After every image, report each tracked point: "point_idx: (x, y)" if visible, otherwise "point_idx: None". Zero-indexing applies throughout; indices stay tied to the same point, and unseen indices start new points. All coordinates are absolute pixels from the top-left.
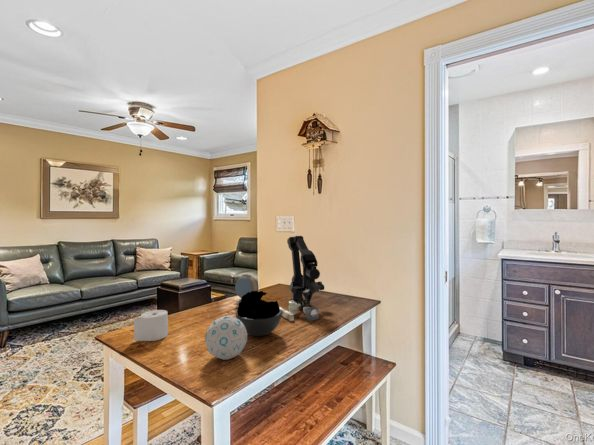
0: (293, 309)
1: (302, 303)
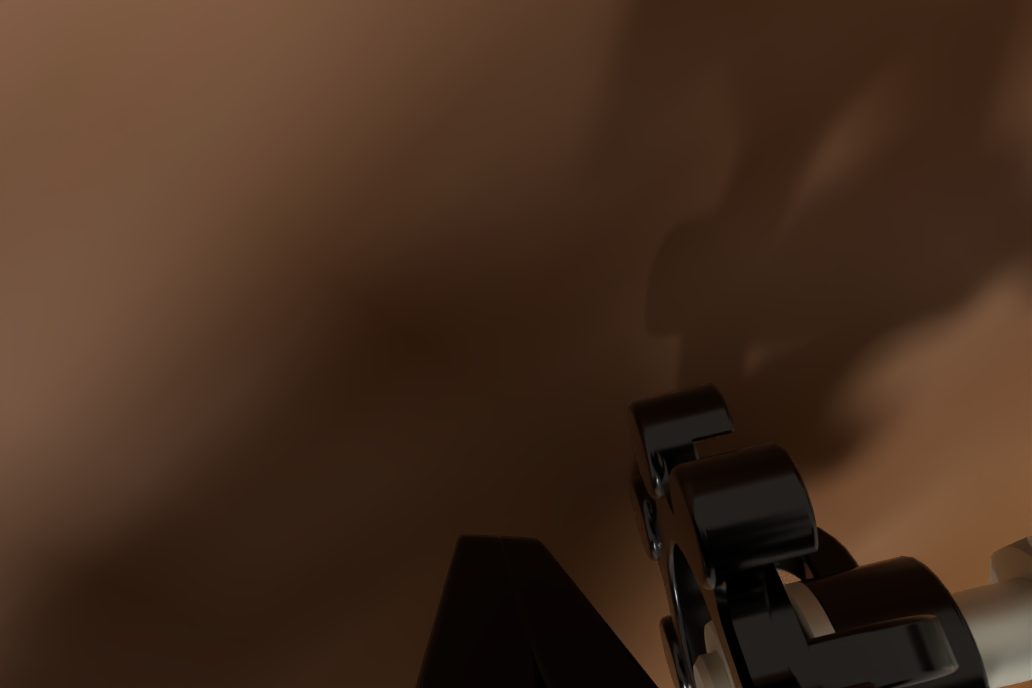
0: None
1: (950, 634)
